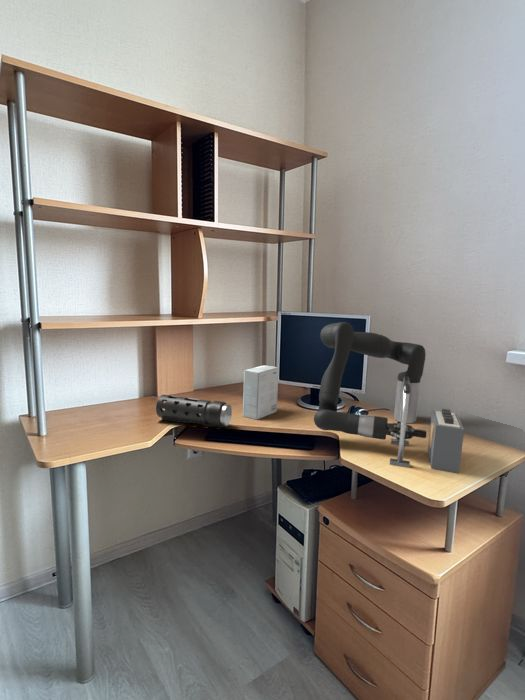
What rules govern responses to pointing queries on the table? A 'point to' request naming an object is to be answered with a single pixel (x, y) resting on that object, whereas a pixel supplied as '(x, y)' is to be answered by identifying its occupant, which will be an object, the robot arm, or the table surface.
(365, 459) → the table surface
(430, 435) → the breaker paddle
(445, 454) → the box
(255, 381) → the hard drive box
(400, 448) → the cord gate
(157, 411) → the muzzle brake
